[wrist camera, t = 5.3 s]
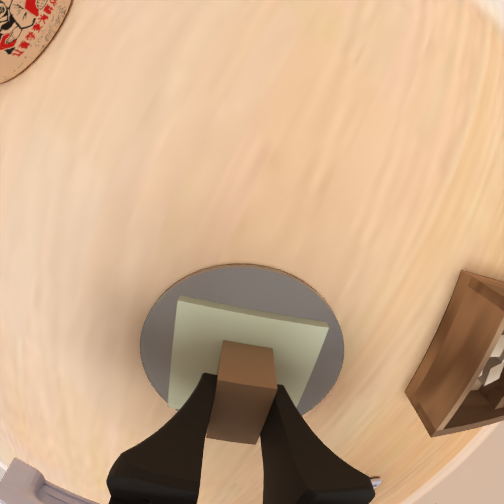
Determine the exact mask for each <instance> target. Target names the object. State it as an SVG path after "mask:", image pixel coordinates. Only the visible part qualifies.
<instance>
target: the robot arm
mask: <svg viewBox="0 0 504 504" xmlns="http://www.w3.org/2000/svg"><path fill="white" fill-rule="evenodd" d="M217 377H218V375H215V374H210V373H203V374H202V375H201V378H200V380H199V383H198V384H197V386H196V388H195V390H194V391H193V393H192V394H191V395H190V397H189V398H188V400H187V401H186V402H185V404H184V405H183V406H182V407H181V408H180V410H179V411H178V412H177V413H176V414H175V415H174V416H173V417H172V418H171V419H170V420H169V421H168V422H167V423H166V424H165V425H164V426H163V427H162V428H160V429H159V430H158V431H157V432H155V433H154V434H153V435H151V436H150V437H149V438H147V439H146V440H144V441H143V442H141V443H140V444H138V445H136V446H134V447H132V448H131V449H129V450H127V451H125V452H123V453H122V454H121V455H120V456H119V457H118V459H117V460H116V461H115V463H114V464H113V466H112V468H111V470H110V472H109V475H108V477H107V480H106V481H107V486H108V489H109V492H110V494H111V498H110V501H109V504H197V499H198V495H199V487H200V478H201V468H202V458H203V449H204V441H205V436H206V432H207V429H208V425H209V420H210V415H211V410H212V406H213V401H214V396H215V391H216V386H217ZM260 438H261V448H262V458H263V468H264V490H263V504H369V503H370V502H371V501H372V499H373V498H374V496H375V491H374V489H375V488H376V487H377V486H378V485H379V484H380V483H381V482H382V480H381V478H376V479H370V478H369V476H367V475H365V474H363V473H361V472H360V471H358V470H356V469H355V468H353V467H351V466H350V465H349V464H347V463H346V462H344V461H343V460H342V459H340V458H339V457H338V456H337V455H335V454H334V453H333V452H332V451H331V450H330V449H329V448H328V447H326V446H325V445H324V444H323V443H322V441H321V440H320V439H319V438H318V437H317V436H316V435H315V434H314V432H313V431H312V430H311V429H310V427H309V426H308V425H307V423H306V422H305V420H304V419H303V418H302V416H301V414H300V413H299V411H298V410H297V408H296V407H295V405H294V403H293V401H292V400H291V398H290V396H289V394H288V392H287V391H286V389H285V387H284V385H281V384H277V392H276V394H275V397H274V400H273V402H272V405H271V408H270V410H269V413H268V415H267V418H266V420H265V423H264V426H263V428H262V431H261V433H260ZM0 503H1V504H99V503H96V502H94V501H91V500H88V499H86V498H83V497H81V496H79V495H76V494H74V493H72V492H69V491H67V490H65V489H63V488H61V487H59V486H56V485H54V484H52V483H50V482H48V481H46V480H45V478H44V476H43V475H42V473H41V472H39V471H38V470H37V469H35V468H34V467H32V466H30V465H28V464H27V463H25V462H23V461H21V460H20V459H18V458H14V459H13V461H12V463H11V464H10V466H9V468H8V469H7V471H6V473H5V475H4V476H3V478H2V480H1V482H0Z"/></svg>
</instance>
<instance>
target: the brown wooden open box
mask: <svg viewBox="0 0 504 504" xmlns="http://www.w3.org/2000/svg"><path fill="white" fill-rule="evenodd" d="M405 394H406V395H407V397H408V399H409V400H410V402H411V404H412V405H413V407H414V409H415V411H416V412H417V414H418V416H419V417H420V419H421V421H422V423H423V424H424V426H425V428H426V430H427V431H428V433H429V435H430V437H436V436H441V435H447V434H452V433H456V432H461V431H465V430H470V429H474V428H478V427H482V426H485V425H489V424H493V423H496V422H499V421H503V420H504V282H502V281H498V280H495V279H491V278H488V277H484V276H481V275H477V274H473V273H470V272H466V271H461V274H460V277H459V280H458V282H457V285H456V288H455V290H454V293H453V295H452V298H451V300H450V303H449V305H448V308H447V310H446V312H445V315H444V317H443V319H442V322H441V324H440V326H439V328H438V330H437V333H436V335H435V337H434V339H433V341H432V343H431V345H430V347H429V349H428V351H427V353H426V355H425V357H424V359H423V361H422V363H421V364H420V366H419V368H418V370H417V372H416V374H415V375H414V377H413V379H412V381H411V382H410V384H409V386H408V388H407V389H406V391H405Z"/></svg>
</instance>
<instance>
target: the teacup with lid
mask: <svg viewBox="0 0 504 504" xmlns="http://www.w3.org/2000/svg"><path fill="white" fill-rule="evenodd" d="M70 3H71V0H0V83H2V82H5V81H7V80H9V79H11V78H13V77H15V76H16V75H17V74H19V73H20V72H22V71H23V70H24V69H25V68H26V67H27V66H28V65H30V64H31V63H32V62H33V61H34V60H35V59H36V58H37V56H38V55H39V54H40V53H41V52H42V51H43V49H44V48H45V47H46V46H47V44H48V43H49V42H50V40H51V39H52V38H53V36H54V35H55V33H56V31H57V30H58V28H59V27H60V25H61V23H62V21H63V19H64V17H65V15H66V13H67V11H68V8H69V6H70Z"/></svg>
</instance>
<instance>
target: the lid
mask: <svg viewBox="0 0 504 504" xmlns="http://www.w3.org/2000/svg"><path fill="white" fill-rule="evenodd" d="M328 329H329V327H328V324H327V322H324V321H317V320H311V319H305V318H298V317H292V316H286V315H281V314H275V313H269V312H263V311H258V310H252V309H247V308H242V307H236V306H231V305H226V304H221V303H216V302H211V301H206V300H202V299H197V298H192V297H188V296H183V295H180V297H179V299H178V302H177V310H176V318H175V327H174V337H173V347H172V357H171V368H170V381H169V394H168V407H171V408H175V409H180V408H181V407H182V406H183V405H184V404H185V402H186V401H187V400H188V398H189V397H190V395H191V394H192V393H193V391H194V390H195V388H196V386H197V384H198V383H199V380H200V378H201V375H202V374H203V373H210V374H215V375H218V377H217V386H216V391H215V396H214V401H213V406H212V410H211V415H210V420H209V425H208V429H207V435H206V438H211V439H217V440H224V441H231V442H238V443H246V444H255V445H256V443H257V440H258V438H259V436H260V433H261V431H262V428H263V426H264V423H265V420H266V418H267V415H268V413H269V410H270V408H271V405H272V402H273V400H274V397H275V394H276V392H277V384H281V385H284V387H285V389H286V391H287V392H288V394H289V396H290V398H291V400H292V401H293V403H294V405H295V407H296V408H297V405H298V403H299V401H300V399H301V396H302V394H303V392H304V389H305V387H306V385H307V382H308V380H309V378H310V375H311V373H312V370H313V368H314V365H315V363H316V361H317V358H318V355H319V353H320V350H321V348H322V345H323V343H324V340H325V337H326V335H327V332H328Z"/></svg>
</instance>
